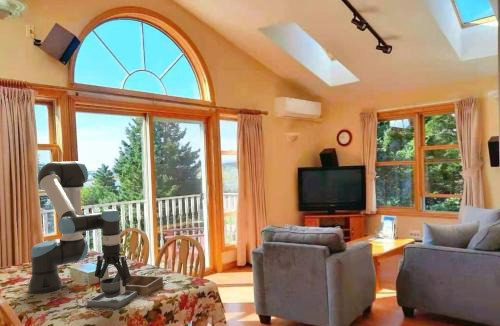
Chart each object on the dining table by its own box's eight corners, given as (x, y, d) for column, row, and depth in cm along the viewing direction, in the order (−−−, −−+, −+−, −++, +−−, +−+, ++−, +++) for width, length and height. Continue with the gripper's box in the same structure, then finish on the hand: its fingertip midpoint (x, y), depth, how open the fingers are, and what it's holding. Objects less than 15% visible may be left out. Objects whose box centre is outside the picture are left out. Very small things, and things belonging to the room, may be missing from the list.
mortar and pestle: (106, 301, 171) (105, 273, 171) (96, 296, 177) (96, 269, 177) (130, 294, 179) (129, 268, 179) (119, 289, 185) (119, 264, 185)
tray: (87, 306, 173) (87, 300, 173) (108, 294, 188) (108, 289, 188) (118, 309, 169) (117, 303, 169) (137, 296, 184) (137, 291, 184)
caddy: (102, 293, 190) (102, 283, 190) (121, 282, 205) (121, 274, 205) (146, 296, 184) (146, 286, 184) (163, 285, 199) (162, 276, 199)
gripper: (84, 244, 177) (86, 293, 177) (128, 246, 171) (130, 297, 172) (95, 241, 184) (97, 288, 185) (137, 242, 179) (139, 291, 179)
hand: (112, 292), depth 178 cm, fingers closed on mortar and pestle, 10 cm apart
